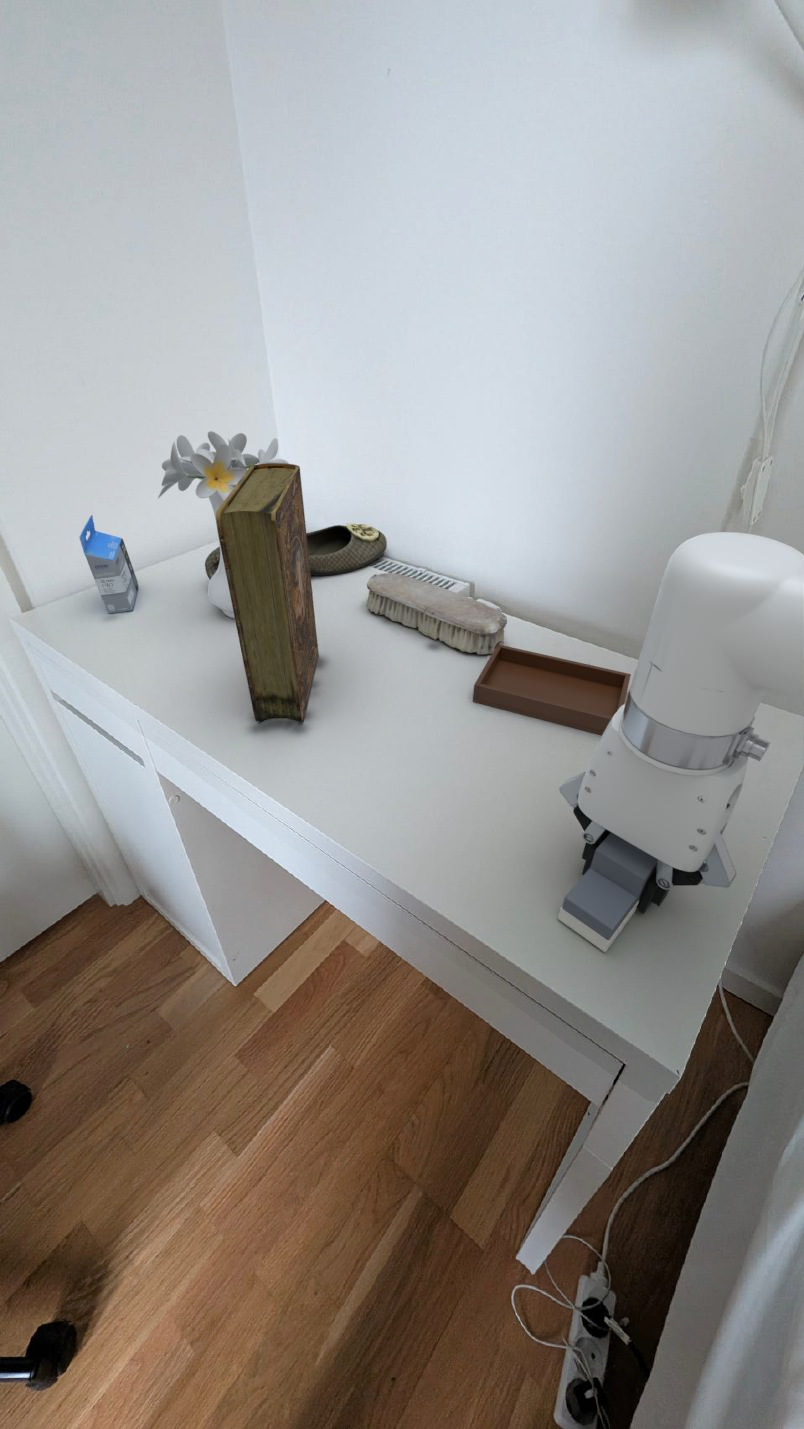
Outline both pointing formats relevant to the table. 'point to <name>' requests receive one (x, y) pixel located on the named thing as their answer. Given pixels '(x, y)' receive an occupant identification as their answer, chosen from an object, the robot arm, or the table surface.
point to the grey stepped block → (608, 891)
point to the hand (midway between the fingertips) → (620, 882)
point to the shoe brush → (437, 612)
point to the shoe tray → (551, 688)
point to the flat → (332, 549)
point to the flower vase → (214, 485)
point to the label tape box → (110, 568)
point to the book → (271, 587)
